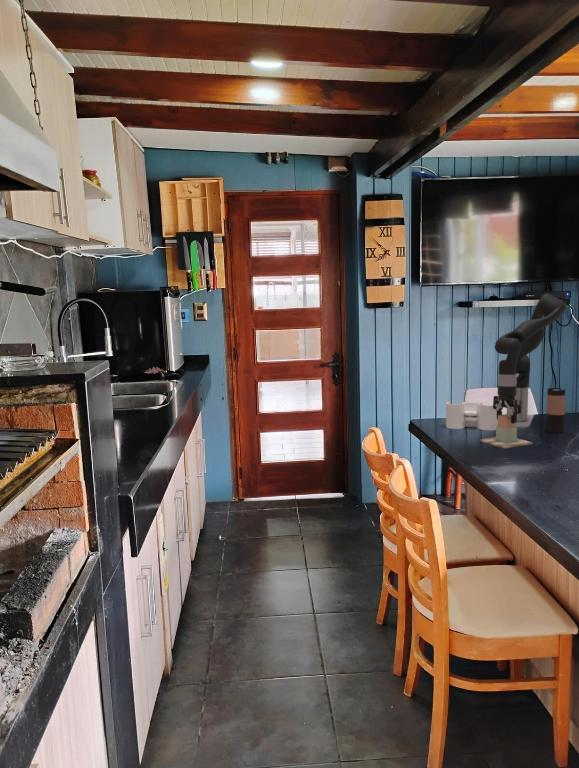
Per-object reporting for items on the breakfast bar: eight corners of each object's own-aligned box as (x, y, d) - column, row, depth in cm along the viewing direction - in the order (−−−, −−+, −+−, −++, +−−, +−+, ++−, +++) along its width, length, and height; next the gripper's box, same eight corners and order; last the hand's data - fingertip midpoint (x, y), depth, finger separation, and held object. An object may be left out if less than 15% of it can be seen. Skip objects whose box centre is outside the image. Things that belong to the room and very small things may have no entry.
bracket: (445, 429, 276) (445, 404, 275) (446, 425, 286) (446, 401, 284) (500, 430, 269) (500, 405, 267) (499, 426, 278) (499, 402, 276)
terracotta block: (497, 426, 247) (497, 415, 246) (506, 425, 249) (507, 414, 248) (505, 428, 242) (506, 417, 242) (515, 427, 244) (515, 416, 243)
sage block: (495, 439, 248) (496, 426, 247) (506, 438, 250) (507, 424, 250) (505, 442, 243) (505, 429, 242) (516, 441, 245) (517, 427, 244)
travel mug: (545, 432, 261) (546, 390, 258) (546, 429, 268) (547, 387, 265) (563, 434, 258) (565, 390, 255) (564, 430, 264) (565, 388, 262)
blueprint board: (480, 440, 251) (480, 438, 251) (507, 437, 256) (507, 435, 256) (504, 448, 237) (504, 446, 237) (532, 444, 242) (532, 442, 242)
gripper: (526, 385, 238) (525, 423, 240) (502, 381, 251) (501, 417, 253) (512, 387, 235) (511, 425, 237) (488, 383, 248) (488, 419, 251)
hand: (506, 421), depth 245 cm, fingers open, 8 cm apart
